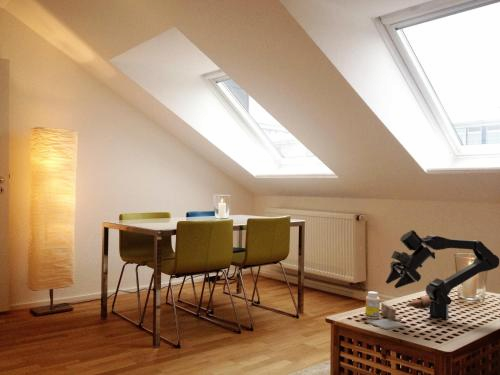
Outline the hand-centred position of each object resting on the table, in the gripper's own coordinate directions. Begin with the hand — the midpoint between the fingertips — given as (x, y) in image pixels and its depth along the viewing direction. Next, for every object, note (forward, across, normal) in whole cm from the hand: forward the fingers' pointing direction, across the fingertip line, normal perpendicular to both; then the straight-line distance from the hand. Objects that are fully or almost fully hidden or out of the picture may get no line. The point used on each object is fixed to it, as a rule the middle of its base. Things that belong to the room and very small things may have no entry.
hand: (390, 285), depth 200 cm
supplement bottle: (+15, 0, +4) cm, 15 cm away
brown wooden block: (+9, 0, +10) cm, 13 cm away
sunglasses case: (-8, -23, +28) cm, 37 cm away
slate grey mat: (+14, +11, +5) cm, 18 cm away
